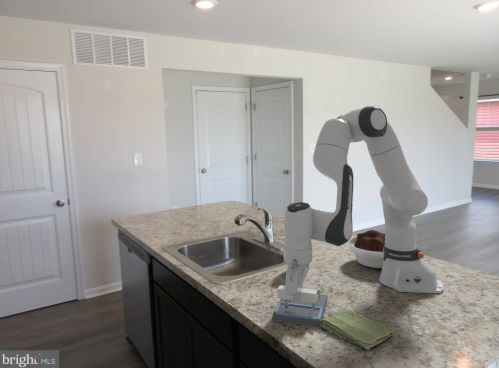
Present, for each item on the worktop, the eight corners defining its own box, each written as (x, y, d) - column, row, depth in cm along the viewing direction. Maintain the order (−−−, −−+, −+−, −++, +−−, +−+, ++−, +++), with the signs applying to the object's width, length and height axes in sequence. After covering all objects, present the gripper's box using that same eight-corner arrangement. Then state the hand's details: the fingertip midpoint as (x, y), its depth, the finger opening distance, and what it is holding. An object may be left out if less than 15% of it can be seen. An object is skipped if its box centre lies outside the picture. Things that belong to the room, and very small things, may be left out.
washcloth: (369, 355, 99) (369, 343, 98) (318, 328, 112) (318, 318, 112) (395, 337, 107) (396, 327, 106) (345, 314, 121) (345, 305, 120)
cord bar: (317, 298, 117) (317, 290, 117) (315, 303, 114) (315, 293, 114) (280, 294, 121) (280, 285, 121) (277, 297, 118) (277, 289, 118)
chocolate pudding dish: (403, 256, 172) (404, 225, 169) (411, 277, 148) (412, 241, 146) (347, 253, 178) (348, 222, 176) (346, 272, 155) (347, 237, 152)
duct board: (327, 300, 129) (327, 288, 129) (320, 326, 112) (320, 312, 112) (285, 295, 134) (285, 283, 133) (272, 319, 117) (272, 306, 116)
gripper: (301, 267, 105) (301, 313, 107) (313, 246, 124) (312, 285, 126) (280, 265, 107) (280, 310, 109) (294, 244, 126) (294, 283, 128)
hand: (297, 296), depth 118 cm, fingers closed on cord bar, 3 cm apart
